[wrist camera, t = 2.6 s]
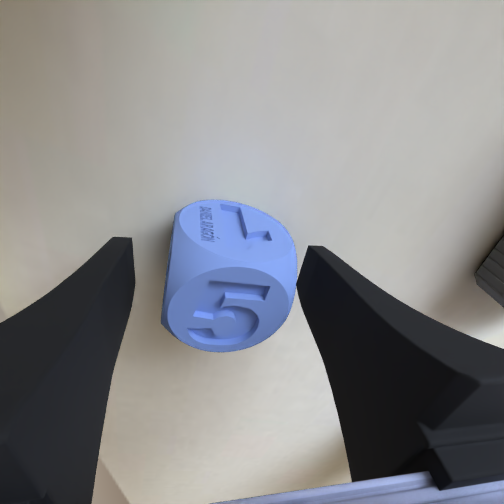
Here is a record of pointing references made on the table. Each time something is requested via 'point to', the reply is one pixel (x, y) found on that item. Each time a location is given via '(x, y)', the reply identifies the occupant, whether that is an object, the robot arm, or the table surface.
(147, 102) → the table surface
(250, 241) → the decorative dice
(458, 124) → the table surface
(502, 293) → the walkie-talkie
